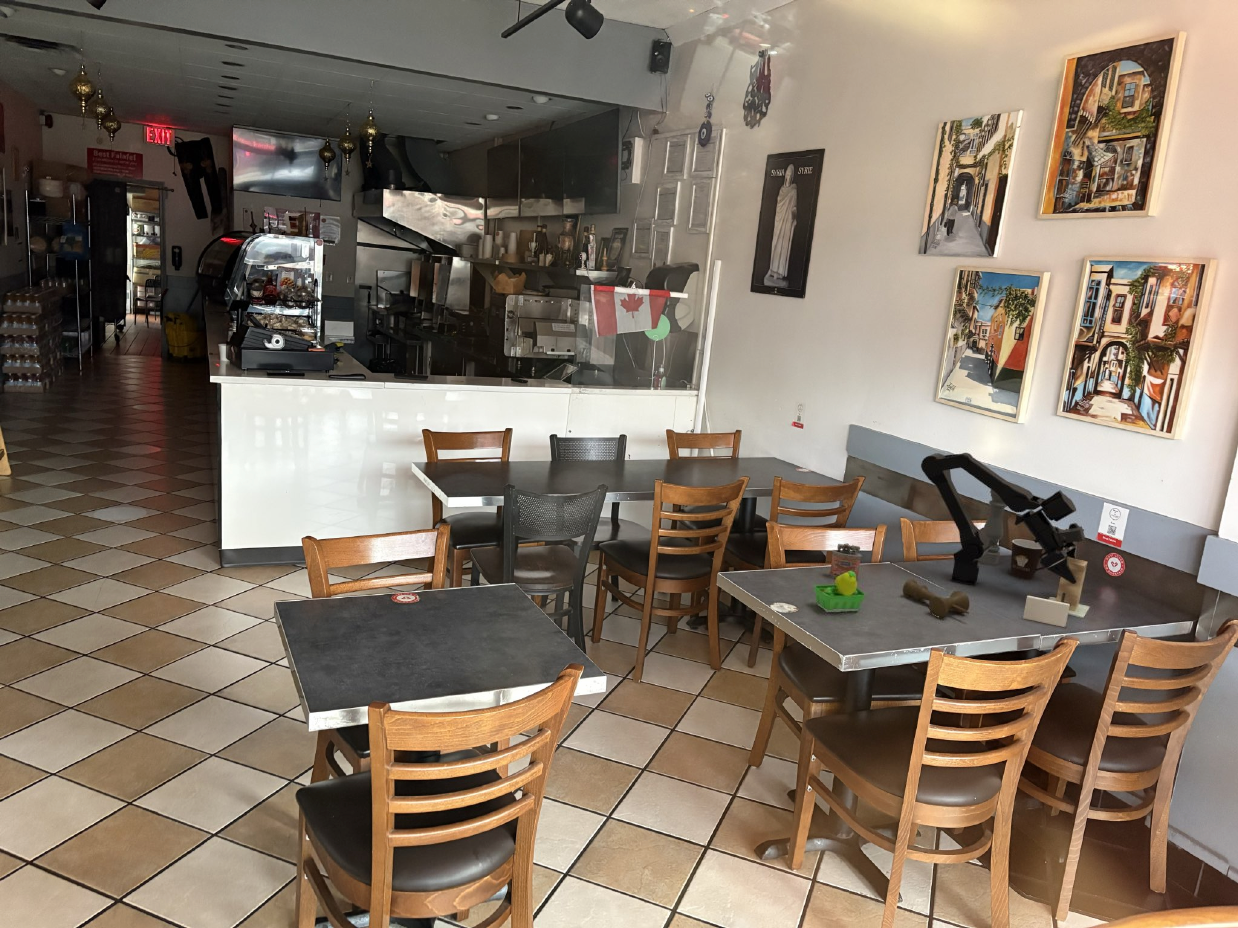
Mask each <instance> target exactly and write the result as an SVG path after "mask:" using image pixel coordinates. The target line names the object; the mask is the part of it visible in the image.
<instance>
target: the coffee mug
mask: <svg viewBox="0 0 1238 928" xmlns="http://www.w3.org/2000/svg"><path fill="white" fill-rule="evenodd" d="M1011 544H1012V545H1011V557H1010V572H1009V573H1010V575H1011V576H1012V577H1015V578H1017V577H1018V579H1020V578H1024V579H1023V580H1028V579H1029V580H1033V579H1034V577H1035V575H1036V572H1037V571H1041V570H1045V569H1044V568H1043V566H1041V567H1038V565H1039V563H1040V561H1041V558H1042V557H1043V556H1044V554H1043V552H1044V550H1043V549H1042V548H1041V546H1040V545H1039V543H1038V542H1037V543H1035V542H1034V540H1033V541H1032V540H1029V539H1020V538H1018V539H1013V540H1011ZM1047 568H1048V567H1047ZM1047 568H1046V569H1047ZM1032 578H1033V579H1032Z"/></svg>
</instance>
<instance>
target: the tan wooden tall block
mask: <svg viewBox="0 0 1238 928" xmlns="http://www.w3.org/2000/svg"><path fill="white" fill-rule="evenodd" d="M1068 566H1069V568H1070V569H1071V571H1072V573H1073V575H1074V577H1075V579H1076V581H1077V582H1076V583H1075V584H1072V583H1070V582H1069V581H1067V580H1065V579H1064V578H1062V577H1060V580H1059V584H1058V588H1057V589H1058V590H1057V594H1056V597H1055V598H1056V601H1057V602H1062V603H1067V604H1070V607H1069V610H1071V611H1076V609H1077V607H1078V605H1079V604H1080V599H1081V594H1082V589H1083V586H1084V580H1085V576H1086V571H1087V567H1088V561H1086V560H1083V559H1078V558H1077V559H1074V558H1070V557H1069V559H1068Z"/></svg>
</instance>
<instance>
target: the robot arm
mask: <svg viewBox="0 0 1238 928" xmlns="http://www.w3.org/2000/svg"><path fill="white" fill-rule="evenodd" d="M920 468H921V471H922V472H923V473H924V475H925V477H926V478H927V479H928V480H929V481H930V482H931V483H932V484H933V485H934V486H935V488H937V491H938V492H939V494H940V496H941V498H942V500H943V502H944V505H946V508H947V510H948V512H949V514H950V516H951V518H952V520H953V522H954V524H955V526H956V529H957V530H958V533H959V534H958V535H959V542H960V546H961V548H960V549H958V550H957V551H956V552H954V553H953V560H954V562H953V568H952V573H951V577H950V581H952V582H957V583H961V584H967V585H972V586H975V584H976V583H977V582H978V577H979V574H980V573H979V572H980V565H978V564H979V561H978V560H977V559H979V558H981V557H982V556H983V555H984V554H985V553H987V551H988V550H989V547H990V544H989V541H990V539H989V538H988V537H987V535H986V532H985V529H984V527H982V528H980V529H979V528H978V527H977V526H976V525H975V523H974V522H973V520H972V518H971V516H970V514H969V512H968V511H967V508H966V505H964V504H965V503H964V502H963V500H962V498H961V497H960V494H959V492H958V491H957V488H956V486H955V485H954V483H953V481H952V475H951V470H955V469H963V470H964V471H965V472H966V473H968V474H970V476H972V477H974V478H975V480H977V481H979V482H980V483H982V484H983V485H984V486H985V487H987V488H988V489H990V491H991V490H993V491H994V492H995V493H996V494H997V495H998V496H999V497H1000V498H1001V500H1002V501H1003V502H1004V503H1005V504H1006V505H1007V508H1008V509H1010V510H1011V511H1012V512H1014V513H1017V514H1016V515H1015V522H1014V526H1017V525H1019V524H1021V523H1023V524H1024V526H1025V527H1026V528H1027V529H1028V531H1029V533H1030V534H1031V535H1032V537H1033V538H1034V539H1033V542H1035V543H1039V545H1040V546H1041V548H1042V549H1043V551H1042V553H1043V554H1044V556H1043V557H1042V558H1041V559H1040V560H1039V563H1040V565H1041V567H1043V568H1044V569H1043V570H1045V569H1046V570H1047V571H1050V572H1052V573H1054V574H1055V575H1056V576H1059V577H1060V578H1061V577H1062V578H1064V579H1065V580H1067V581H1069V582H1070V583H1072V584H1075V583H1076V582H1077V581H1076V579H1075V577H1074V575H1073V573H1072V571H1071V569H1070V568H1069V566H1068V559H1069V557H1070V558H1074V559H1078V558H1077V555H1076V553H1077V550H1078V543H1080V542H1083V541H1084V539H1085V540H1086V537H1085V533H1084V531H1085V529H1084V528H1083V527H1082V526H1080V525H1078V524H1077V522H1073V523H1070V524H1069V525H1068V528H1064V529H1062V530H1061V529H1060V528H1059V527H1058V526H1054V525H1053V524H1052V523H1051V521H1054V522H1060V521H1061V520H1063V519H1064V518H1067V517H1068V516H1070V515H1071V514H1073V513H1075V512H1077V507H1076V505H1075V504H1074V502H1073V501H1072V499H1071V498H1069V497H1068V496H1067V495H1066V494H1065V493H1064V492H1063V491H1062V490H1060V489H1059V490H1057V491H1056V492H1055V493H1053V495H1050V496H1049V497H1047V498H1043V497H1040V496H1037V495H1034V494H1033V492H1031V491H1030V490H1028V489H1026V488H1025V487H1023V486H1020V485H1018V484H1016V483H1013V482H1010V481H1008V480H1006V479H1005V478H1003V477H1002V476H1000V475H999V474H997V473H996V472H995V471H993V469H990V468H989V467H988V466H987V465H985V464H983V463H982V462H980V461H979V460H977V459H976V458H975V457H974V456H972V454H971V453H969V452H963V453H954V454H953V453H952V454H946V455H945V454H943V453H939V452H935V453H932V454H929V455H928V456H925V457H924V458H923V459H922V461H921V464H920ZM1040 507H1041V508H1040ZM1038 508H1039V509H1038ZM1034 510H1036V511H1034ZM1023 512H1025V513H1023ZM1020 513H1023V514H1020ZM1047 567H1048V568H1047Z"/></svg>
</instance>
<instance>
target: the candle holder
mask: <svg viewBox="0 0 1238 928" xmlns="http://www.w3.org/2000/svg"><path fill="white" fill-rule="evenodd" d="M990 496H991V499H990V500H989V501H988V503H989V504H988V505H989V506H990V509H989V515H988V517H987V519H986V522H985V524H984V526H983V528H984V529H985V532H986V535H987V537H988V538H989V539H990V541H989V544H990V547H989V550H988V551H987V553H985V554H984V555H983V556H982V557H981V558H979V559H977V560H978V563H979V562H980V563H982V564H984V565H990V566H996V565H998V564H999V560H1000V559H999V558H1000V554H1001V553H1000V549H1001V548H1000V546H999V543H1000V541H1001V540H1002V538H1003V537H1004V524H1003V517H1004V513H1005V509H1006V508H1008V506H1007V505H1006V504H1005V503H1004V502H1003V501H1002V500H1001V498H1000V497H999V496H998V495H997V494H996V493H995V492H994V491H993V490H991V489H990Z"/></svg>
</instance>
